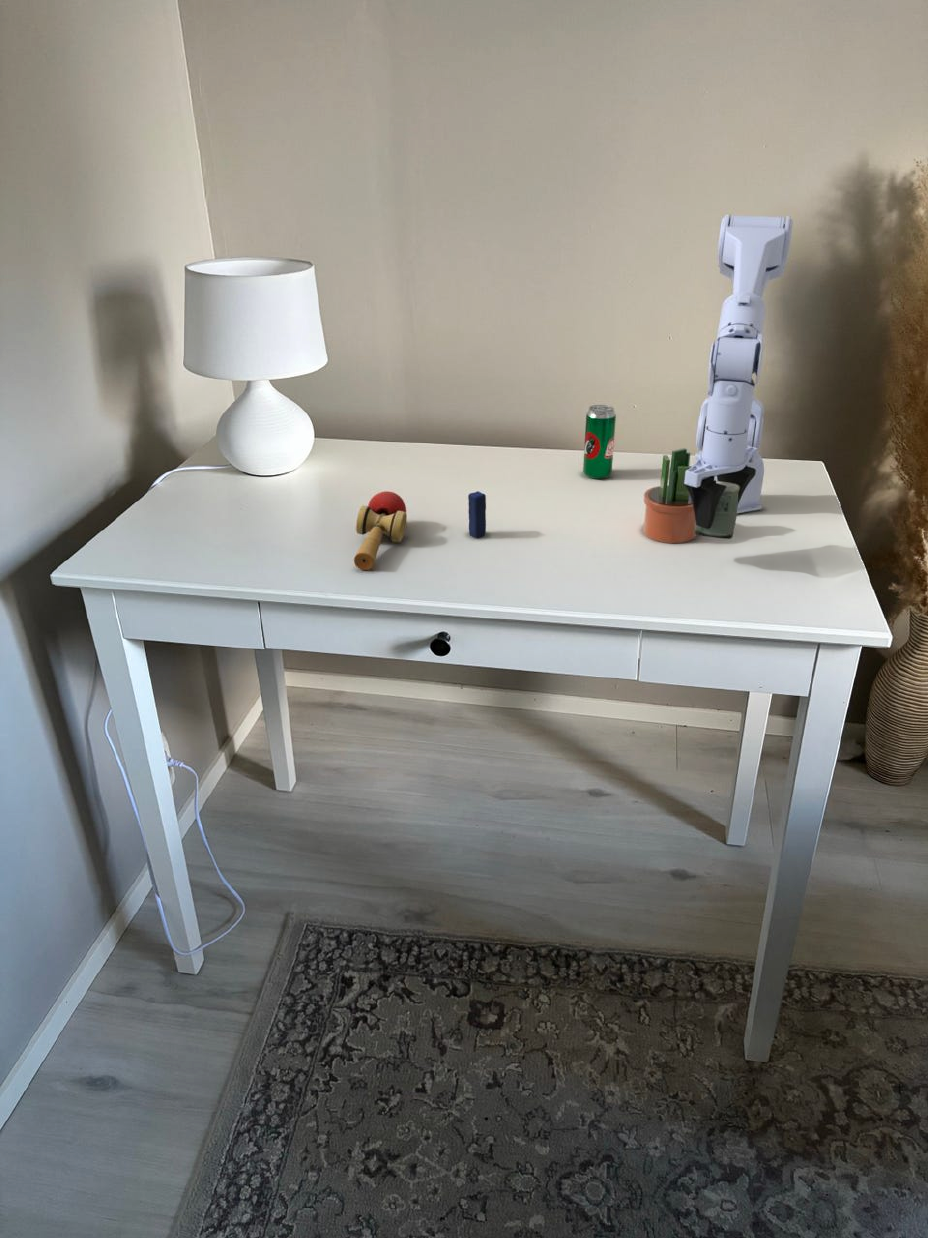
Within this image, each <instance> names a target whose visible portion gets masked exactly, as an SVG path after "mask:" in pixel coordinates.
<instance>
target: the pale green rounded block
mask: <svg viewBox="0 0 928 1238" xmlns="http://www.w3.org/2000/svg"><path fill="white" fill-rule="evenodd" d="M716 483H718V484H721V485H724V486H726V489H725V490H724V492H723V493H722V495H721V497H720V499H719V502H718V505H717V508H716V512H715V517H714V521H713V524H712V526H711V528H709V529H706V528H703V527H700V526H697V525H696V524H695V534H696V536H699V537H707V538H714V539H715V538H717V539H723V540H724V539H725V540H730V539H732V538H733V537H734V533H735V532H734V531H735V526H736V521H737V516H738V513H737V507H738V492H739V490H740V486H739V485H737V484H733V483H728V482H720V481H716Z"/></svg>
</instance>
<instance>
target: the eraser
mask: <svg viewBox="0 0 928 1238" xmlns="http://www.w3.org/2000/svg"><path fill="white" fill-rule="evenodd" d="M467 500H468V503H467V504H468V505H467V506H468V534H469V536H471V537H472V538H474V539H479V538H483V537H484V536H486V534H487V533H486V531H487V513H486V511H487V495H486V494H485V493H483V492H481V491H474V492H470V493H469V494H468V495H467Z"/></svg>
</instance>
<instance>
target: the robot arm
mask: <svg viewBox="0 0 928 1238" xmlns="http://www.w3.org/2000/svg"><path fill="white" fill-rule="evenodd" d="M793 224H794V220H793V219H792V217H791V216H790V215H786V216H763V215H762V216H760V215H731V213H730V214H728V213H727V214H725V216H724V217H722V218H721V224H720V229H719V238H718V247H717V257H718V265H717V266H718V268H719V273H720V274H721V275H723V276H724V277H727V278H729V279H730V281H731V285H732V294H731V295H729V296H728V297H727V298H726V299H724V301H723V303H722V305H721V310H720V316H719V322H718V329H717V334H716V340H713V341H712V343H711V347H710V353H709V360H708V371H707V374H708V375H707V376H708V388H707V389H708V390H707V395H708V397H706V398H705V399H704V400H703V402H702V403H701V406H700V413H699V415H698V421H697V427H696V435H695V436H696V437H695V447H696V448H697V450H698V452H696V453H695V454H694V459H695V460H696V461H695V462H694V463H693V465H691V468H690V469H688V470H686V473H685V482H684V484H685V486H686V487H687V489H688V491H689V494H690V496H691V499H692V503H693V508H694V514H695V521H696V525H697V526H700V527H703V528H706V529H709V528H711V526H712V524H713V521H714V517H715V512H716V508H717V505H718V502H719V499H720V497H721V495H722V493H723V492H724V490H725V489H726V486H724V485H721V484H718V483H716V481H720V482H728V483H733V484H737V485H739V486H740V490H739V492H738V507H737V514H742V513H743V514H744V513H748V512H754V511H760V510H762V509H763V506H762V505H761V504H760V502H761V495H762V488H763V484H764V483H763V482H764V475H765V465H764V464H765V463H764V460H763V458H762V456H761V454H759V452H760V447H761V442H762V435H763V428H764V420H765V419H764V414H765V408H764V404H763V403H762V402H761V401H760V400H759V399H758V398H757V397H756V396H755V395H754V394H755V387H756V385H758V382H759V379H760V376H761V371H762V370H761V369H762V362H763V355H764V349H765V348H764V347H765V346H764V326H765V325H764V324H765V317H766V310H767V308H766V303H765V301H764V300H763V294H764V292H765V290H766V288H767V286H768V284H769V282H770V281H771V280H772V281H773V280H774V279H777V278H780V277H782V275H783V272H784V271H785V270H786V265H787V260H788V258H789V252H790V245H791V239H792V231H793ZM753 374H755V376H756V378H755V380H754V379H753Z"/></svg>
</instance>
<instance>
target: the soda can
mask: <svg viewBox="0 0 928 1238" xmlns="http://www.w3.org/2000/svg"><path fill="white" fill-rule="evenodd" d="M616 419H617V414H616V412H615V408H614V407H613V406H612V405H607V404H593V405H591V406H589V407H588V411H587V412H586V413H585V426H584V427H585V429H584V431H585V432H584V448H583V463H582V465H583V466H582V472H583V474H584V475H585V476H586V477H587V478H588V479H589V478H590V479H593V480H602V479H607V478H608V477H610V475H612V473H613V461H614V448H615V436H616V435H615V434H616Z"/></svg>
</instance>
